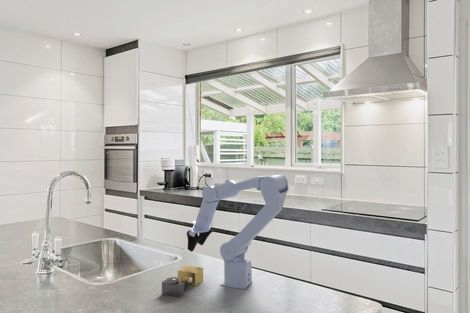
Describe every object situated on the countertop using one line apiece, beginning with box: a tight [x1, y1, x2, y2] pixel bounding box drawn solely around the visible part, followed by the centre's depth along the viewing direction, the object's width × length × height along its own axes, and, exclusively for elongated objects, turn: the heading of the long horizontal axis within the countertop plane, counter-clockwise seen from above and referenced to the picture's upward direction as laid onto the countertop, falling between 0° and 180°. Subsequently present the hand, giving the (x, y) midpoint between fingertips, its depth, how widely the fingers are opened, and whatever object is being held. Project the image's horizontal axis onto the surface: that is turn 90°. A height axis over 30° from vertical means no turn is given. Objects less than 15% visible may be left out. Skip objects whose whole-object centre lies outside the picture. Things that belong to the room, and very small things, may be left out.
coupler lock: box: [177, 265, 204, 287], centre depth 132 cm, size 7×6×5 cm
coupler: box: [161, 276, 188, 298], centre depth 124 cm, size 7×9×5 cm
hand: (195, 247), depth 140 cm, fingers open, 7 cm apart
